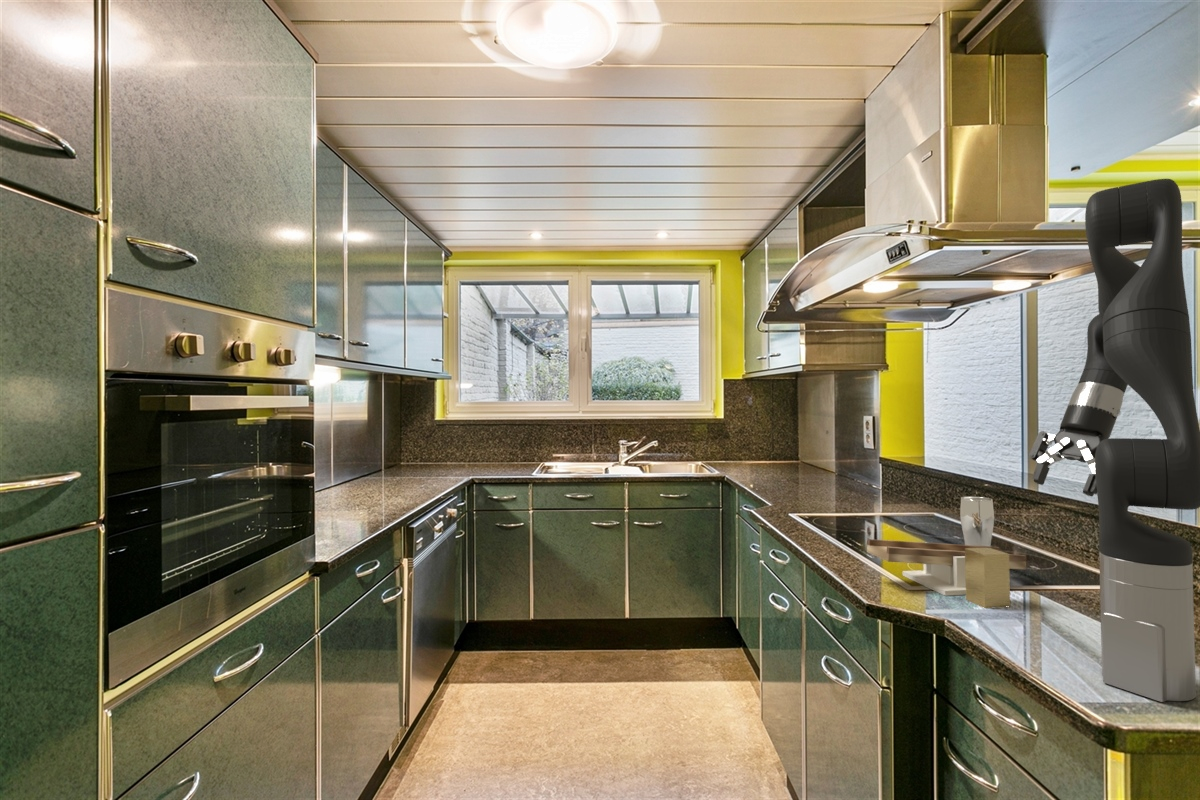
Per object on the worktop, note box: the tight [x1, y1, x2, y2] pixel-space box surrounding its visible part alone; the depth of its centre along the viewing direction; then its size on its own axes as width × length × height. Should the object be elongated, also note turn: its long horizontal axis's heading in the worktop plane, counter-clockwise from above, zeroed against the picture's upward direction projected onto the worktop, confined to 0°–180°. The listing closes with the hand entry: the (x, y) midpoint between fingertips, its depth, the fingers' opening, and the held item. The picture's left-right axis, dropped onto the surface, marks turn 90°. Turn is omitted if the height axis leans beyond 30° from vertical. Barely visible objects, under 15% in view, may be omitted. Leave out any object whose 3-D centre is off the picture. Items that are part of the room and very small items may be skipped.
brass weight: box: [965, 548, 1011, 609], centre depth 111 cm, size 5×5×10 cm
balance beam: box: [866, 538, 1027, 570], centre depth 123 cm, size 30×8×3 cm, turn 95°
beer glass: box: [959, 495, 995, 547], centre depth 142 cm, size 7×7×15 cm
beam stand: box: [902, 556, 966, 597], centre depth 123 cm, size 10×14×7 cm
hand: (1062, 488), depth 110 cm, fingers open, 8 cm apart
